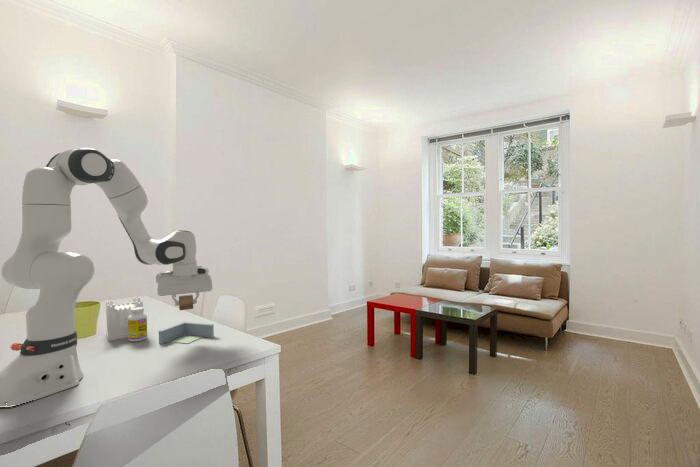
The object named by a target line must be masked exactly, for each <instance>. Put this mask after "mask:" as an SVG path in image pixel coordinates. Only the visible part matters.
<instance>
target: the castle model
mask: <svg viewBox="0 0 700 467" xmlns="http://www.w3.org/2000/svg"><path fill="white" fill-rule="evenodd" d="M136 307H143V308H144V302H143V300H141V297H140V296H134V297H132V302H126V303H125V302H124V303H122V304H120V303H117V305H116V304H115V303H114V300H113V299H110V300H105V311H106V312H105V313H106V331H105V332H106V338H107V341H108V342H109V341H115V340H116V341H117V340H121V339H127V338H128V317H129V316H130V315H131V309H132V308H136Z"/></svg>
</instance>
